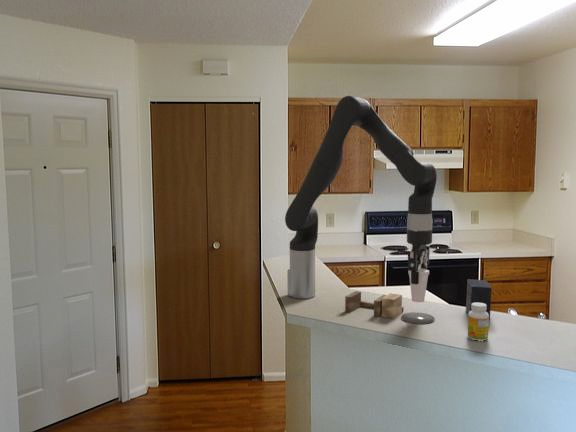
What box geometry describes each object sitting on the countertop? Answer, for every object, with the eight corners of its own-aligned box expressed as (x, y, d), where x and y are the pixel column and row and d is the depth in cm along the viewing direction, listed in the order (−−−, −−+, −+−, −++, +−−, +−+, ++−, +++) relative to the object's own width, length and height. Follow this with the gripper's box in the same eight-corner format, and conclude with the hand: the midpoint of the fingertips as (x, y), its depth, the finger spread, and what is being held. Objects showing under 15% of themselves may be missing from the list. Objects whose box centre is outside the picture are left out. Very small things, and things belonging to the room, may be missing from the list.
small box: (491, 320, 166) (492, 287, 165) (469, 319, 167) (470, 286, 166) (486, 311, 176) (487, 279, 175) (465, 309, 177) (466, 278, 176)
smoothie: (416, 304, 163) (418, 258, 161) (403, 299, 168) (404, 255, 167) (433, 301, 166) (434, 257, 164) (419, 297, 171) (420, 253, 170)
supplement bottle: (464, 335, 152) (465, 301, 151) (482, 334, 152) (483, 301, 151) (472, 342, 147) (473, 307, 146) (491, 341, 147) (492, 306, 146)
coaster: (396, 320, 166) (396, 318, 166) (407, 312, 174) (407, 310, 174) (428, 325, 161) (428, 323, 161) (438, 317, 169) (438, 315, 169)
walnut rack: (345, 311, 176) (345, 293, 176) (356, 304, 184) (357, 287, 183) (393, 319, 168) (393, 300, 167) (403, 311, 175) (403, 293, 175)
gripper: (415, 224, 173) (414, 275, 174) (399, 230, 160) (398, 285, 162) (438, 226, 169) (437, 278, 170) (424, 231, 156) (423, 288, 158)
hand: (418, 281), depth 166 cm, fingers closed on smoothie, 6 cm apart
